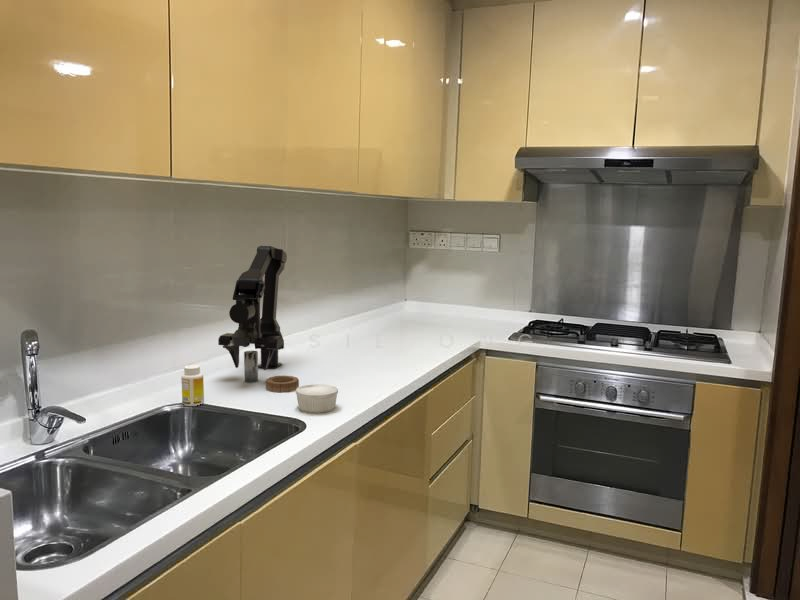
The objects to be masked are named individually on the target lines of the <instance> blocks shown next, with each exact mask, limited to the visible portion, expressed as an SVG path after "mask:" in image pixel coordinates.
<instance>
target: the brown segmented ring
mask: <svg viewBox="0 0 800 600" xmlns="http://www.w3.org/2000/svg"><path fill="white" fill-rule="evenodd" d="M298 387H300V381H299V378H298V377H296V376H293V375H276V376H275V375H274V376H270V377H268V378H266V379H265V389H266V390H267V391H268V392H273V393H289V392H294V391H295V392H296V389H297V388H298Z"/></svg>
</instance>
